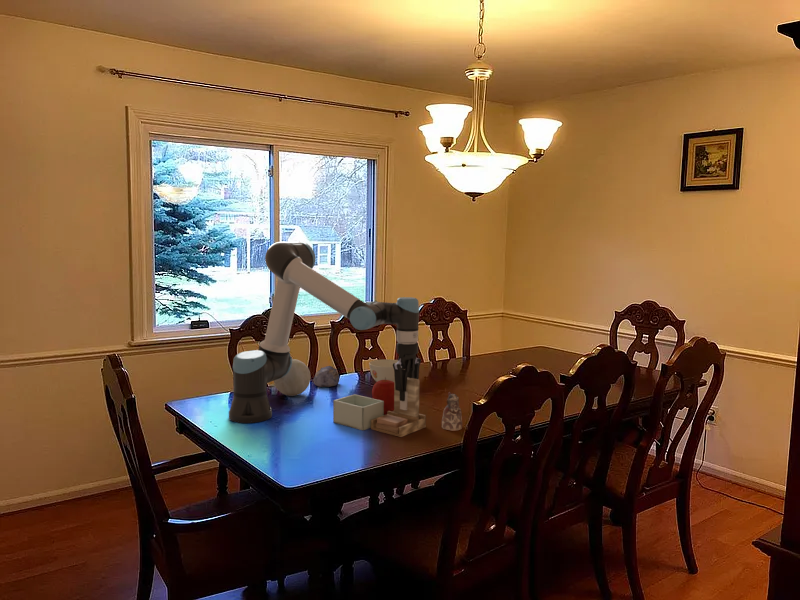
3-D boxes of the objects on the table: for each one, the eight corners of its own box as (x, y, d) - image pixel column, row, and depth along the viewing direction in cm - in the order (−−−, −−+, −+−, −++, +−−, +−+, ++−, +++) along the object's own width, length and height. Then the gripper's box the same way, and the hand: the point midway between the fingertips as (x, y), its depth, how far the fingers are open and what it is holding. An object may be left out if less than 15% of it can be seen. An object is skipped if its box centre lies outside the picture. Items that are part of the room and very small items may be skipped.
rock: (342, 376, 278) (334, 359, 273) (337, 392, 270) (330, 375, 265) (319, 379, 281) (312, 363, 276) (314, 395, 272) (307, 378, 267)
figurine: (445, 431, 212) (446, 397, 210) (438, 425, 218) (439, 391, 217) (465, 429, 214) (466, 395, 212) (457, 423, 220) (458, 390, 219)
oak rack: (400, 437, 205) (400, 424, 204) (370, 429, 213) (371, 416, 212) (425, 427, 216) (425, 415, 215) (396, 419, 224) (396, 408, 223)
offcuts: (397, 433, 206) (397, 423, 206) (375, 427, 212) (375, 418, 212) (410, 428, 212) (411, 419, 212) (389, 422, 218) (389, 413, 218)
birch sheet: (414, 426, 214) (415, 380, 212) (394, 421, 220) (394, 376, 218) (418, 424, 216) (419, 379, 214) (398, 419, 221) (399, 375, 220)
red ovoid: (404, 413, 232) (404, 377, 230) (385, 419, 225) (385, 381, 223) (384, 407, 239) (385, 372, 237) (365, 413, 232) (366, 376, 230)
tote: (362, 430, 211) (363, 407, 210) (333, 422, 220) (333, 400, 219) (383, 423, 220) (383, 401, 219) (354, 415, 228) (354, 394, 228)
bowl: (410, 388, 270) (410, 365, 269) (375, 391, 264) (376, 367, 263) (397, 379, 285) (397, 358, 284) (363, 382, 279) (364, 360, 278)
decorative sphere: (299, 401, 246) (299, 364, 244) (266, 398, 251) (266, 361, 249) (316, 392, 260) (316, 357, 258) (285, 389, 265) (284, 354, 263)
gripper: (402, 346, 206) (401, 415, 209) (429, 340, 218) (428, 405, 221) (384, 343, 211) (383, 411, 213) (412, 338, 223) (411, 402, 226)
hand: (406, 408), depth 217 cm, fingers closed on birch sheet, 2 cm apart
